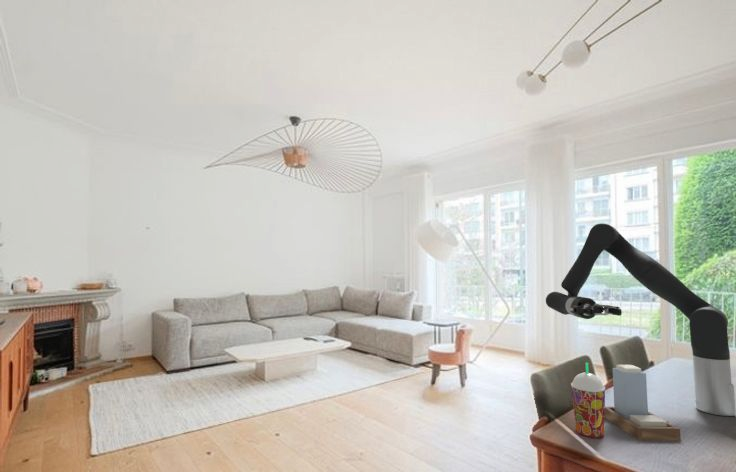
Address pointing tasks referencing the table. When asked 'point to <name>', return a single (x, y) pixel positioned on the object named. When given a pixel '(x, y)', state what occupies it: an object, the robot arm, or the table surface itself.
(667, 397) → the table surface
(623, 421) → the crate
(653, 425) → the off-white rectangular block
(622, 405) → the carton
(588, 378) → the smoothie
